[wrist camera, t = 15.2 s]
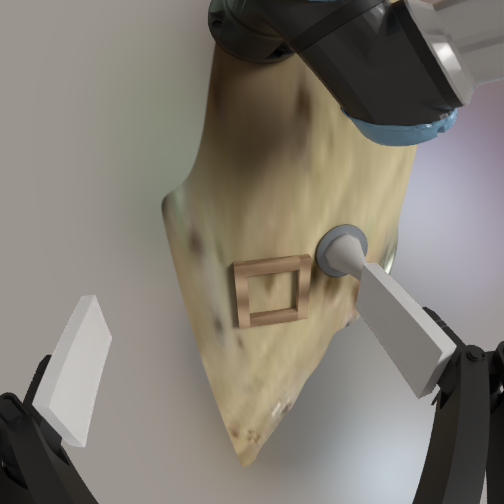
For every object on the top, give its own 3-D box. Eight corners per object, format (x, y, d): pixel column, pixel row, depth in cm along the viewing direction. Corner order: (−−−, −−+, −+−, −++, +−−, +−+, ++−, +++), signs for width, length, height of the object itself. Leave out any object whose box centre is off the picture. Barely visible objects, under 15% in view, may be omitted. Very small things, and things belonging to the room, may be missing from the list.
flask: (339, 276, 52) (363, 308, 44) (316, 253, 49) (340, 283, 41) (367, 250, 51) (396, 277, 42) (347, 224, 48) (376, 249, 39)
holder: (233, 262, 48) (234, 267, 47) (308, 254, 50) (311, 257, 49) (238, 323, 54) (239, 328, 53) (305, 313, 56) (307, 318, 54)
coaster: (335, 215, 48) (337, 216, 47) (375, 237, 51) (376, 239, 50) (306, 264, 51) (307, 265, 50) (347, 281, 54) (348, 283, 53)
